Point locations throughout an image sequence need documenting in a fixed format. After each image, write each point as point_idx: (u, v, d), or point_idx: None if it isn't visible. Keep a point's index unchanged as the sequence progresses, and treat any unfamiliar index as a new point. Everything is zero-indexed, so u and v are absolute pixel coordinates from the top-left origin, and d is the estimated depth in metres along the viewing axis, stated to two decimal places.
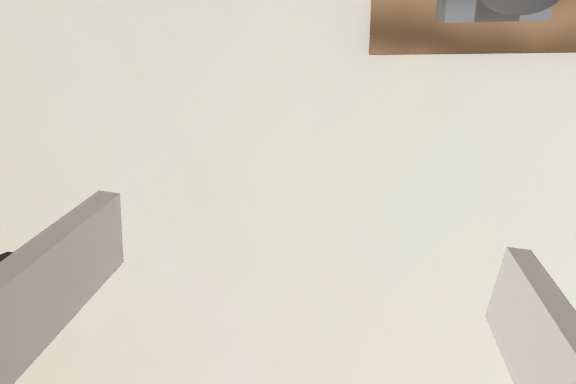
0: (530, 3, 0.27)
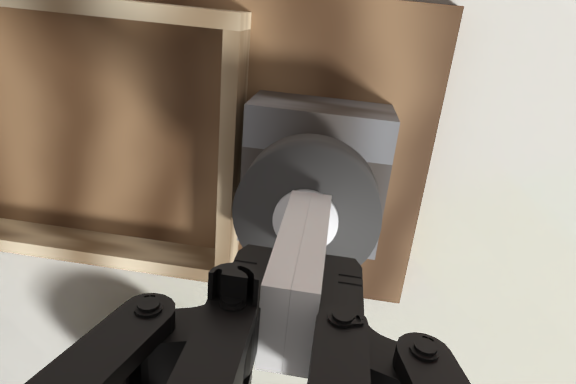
0: (366, 218, 0.18)
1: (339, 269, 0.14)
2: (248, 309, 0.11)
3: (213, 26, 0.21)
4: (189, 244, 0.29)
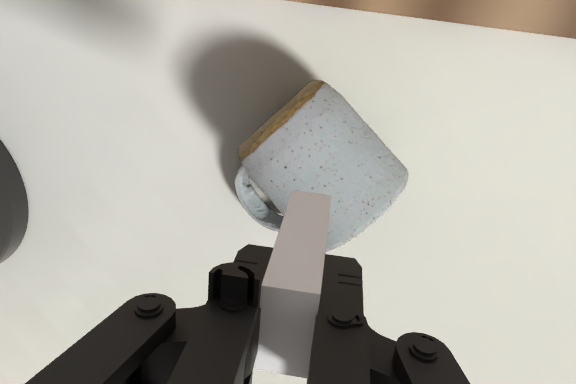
0: None
1: (339, 269, 0.14)
2: (249, 309, 0.11)
3: None
4: None
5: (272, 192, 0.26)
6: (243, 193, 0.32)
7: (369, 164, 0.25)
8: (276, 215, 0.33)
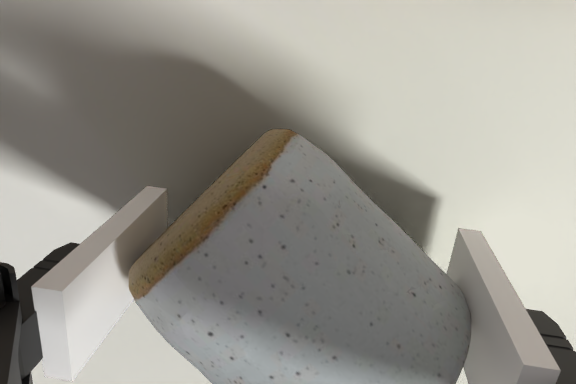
0: None
1: None
2: (10, 306, 0.10)
3: None
4: None
5: (195, 366, 0.13)
6: None
7: (394, 316, 0.11)
8: None
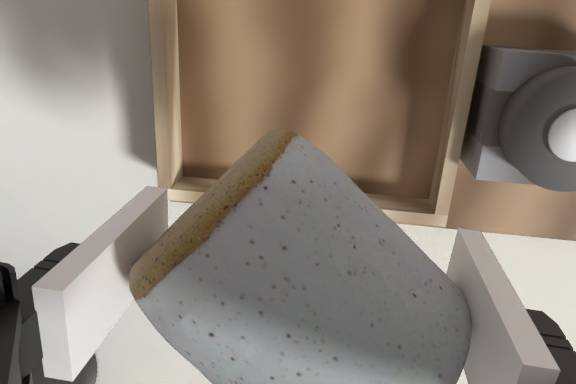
0: None
1: (534, 326, 0.12)
2: (10, 306, 0.10)
3: None
4: (393, 196, 0.31)
5: (196, 367, 0.13)
6: None
7: (395, 317, 0.11)
8: None
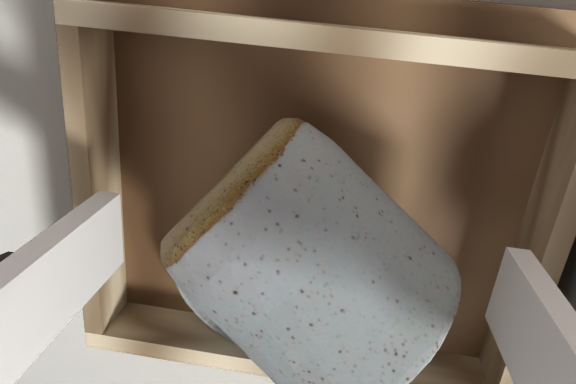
0: None
1: None
2: None
3: None
4: None
5: (220, 325, 0.15)
6: None
7: (393, 275, 0.13)
8: None
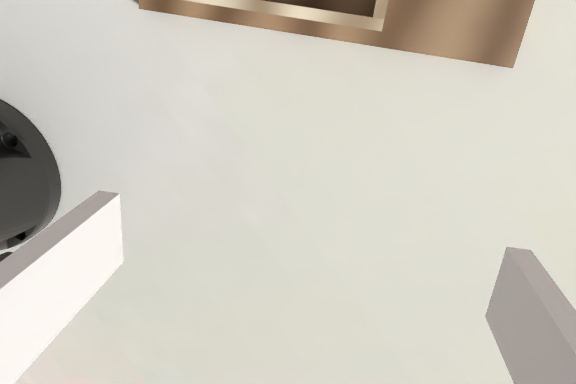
0: None
1: None
2: None
3: None
4: (340, 12, 0.34)
5: None
6: None
7: None
8: None
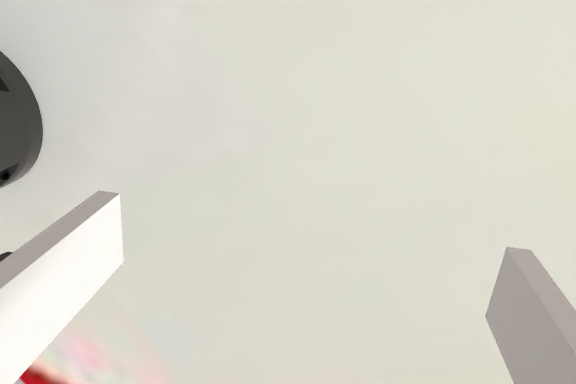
0: None
1: None
2: None
3: None
4: None
5: None
6: None
7: None
8: None
